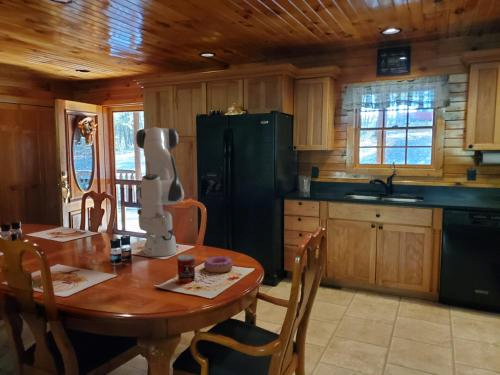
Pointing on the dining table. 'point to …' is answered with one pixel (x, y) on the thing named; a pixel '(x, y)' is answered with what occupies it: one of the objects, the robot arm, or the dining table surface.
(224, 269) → the donut
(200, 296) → the dining table surface
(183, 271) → the canned food
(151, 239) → the sage block
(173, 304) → the dining table surface
